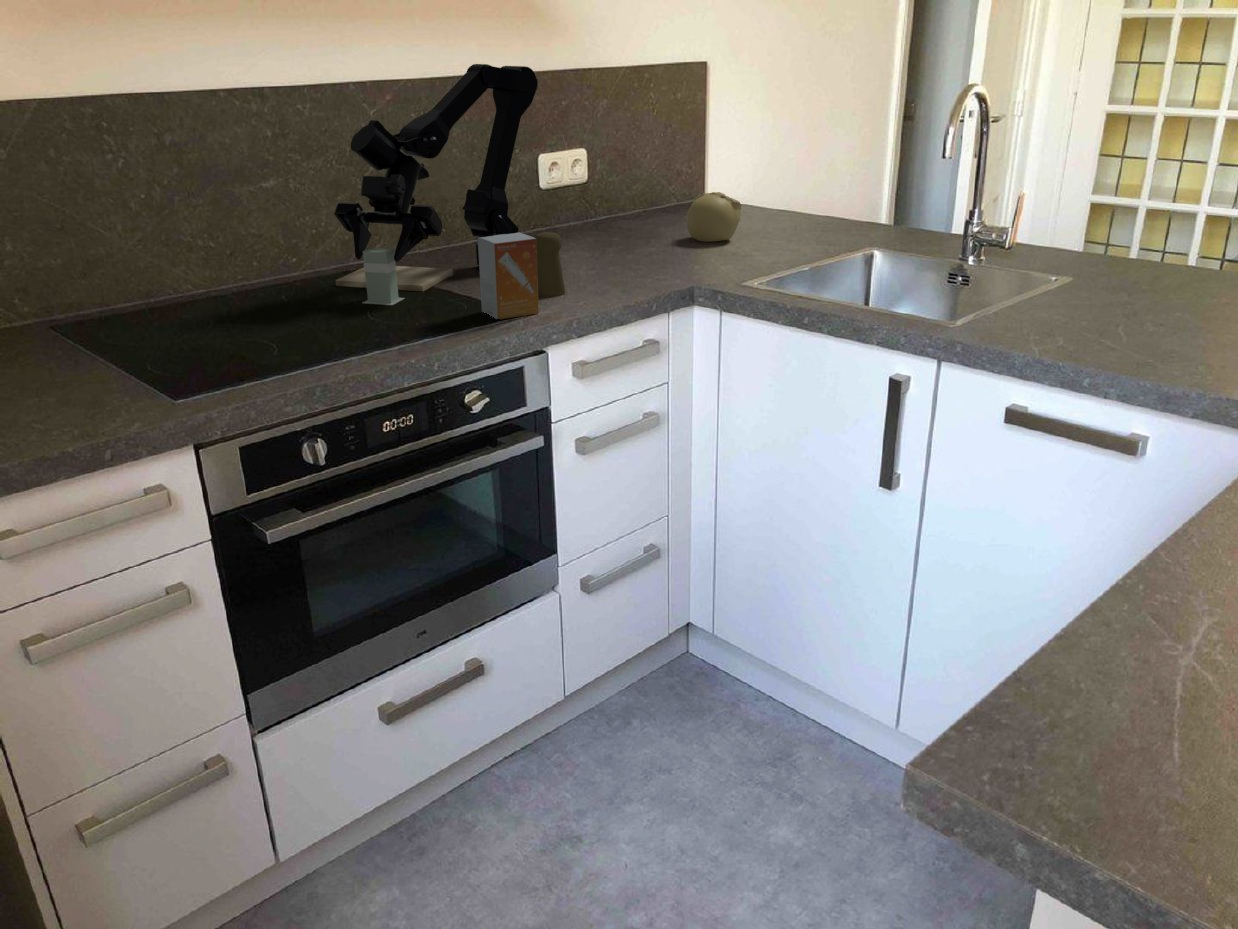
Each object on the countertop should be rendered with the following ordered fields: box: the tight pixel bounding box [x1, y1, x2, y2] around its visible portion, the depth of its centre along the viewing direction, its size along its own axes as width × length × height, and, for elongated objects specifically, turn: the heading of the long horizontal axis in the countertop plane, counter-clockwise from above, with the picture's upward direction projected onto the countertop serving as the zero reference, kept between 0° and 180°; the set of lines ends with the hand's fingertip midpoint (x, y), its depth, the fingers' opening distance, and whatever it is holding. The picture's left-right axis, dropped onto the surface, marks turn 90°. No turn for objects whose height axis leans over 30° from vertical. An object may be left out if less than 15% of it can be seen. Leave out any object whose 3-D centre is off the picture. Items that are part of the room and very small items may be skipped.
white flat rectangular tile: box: [361, 297, 405, 306], centre depth 178 cm, size 6×5×1 cm
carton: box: [362, 247, 400, 303], centre depth 176 cm, size 5×3×9 cm
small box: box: [477, 231, 540, 320], centre depth 168 cm, size 8×6×13 cm
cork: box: [534, 231, 566, 298], centre depth 181 cm, size 6×6×11 cm
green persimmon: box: [685, 191, 742, 243], centre depth 224 cm, size 12×12×11 cm
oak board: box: [334, 265, 454, 292], centre depth 192 cm, size 18×14×1 cm
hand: (376, 259), depth 174 cm, fingers open, 7 cm apart
